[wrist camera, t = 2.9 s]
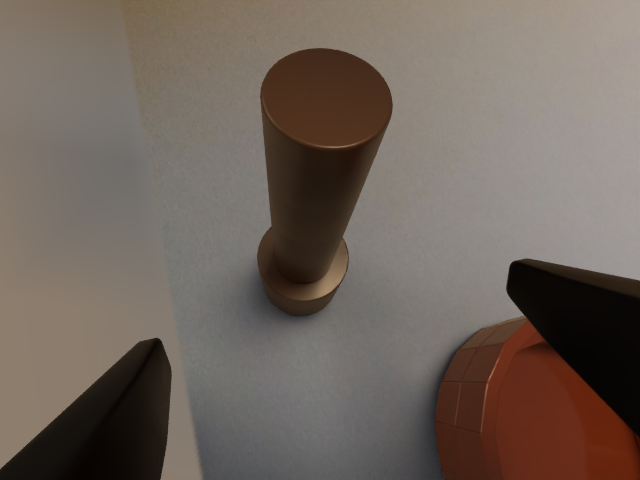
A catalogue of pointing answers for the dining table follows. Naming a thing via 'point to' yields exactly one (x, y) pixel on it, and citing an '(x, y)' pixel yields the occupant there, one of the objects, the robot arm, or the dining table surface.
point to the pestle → (316, 169)
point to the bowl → (526, 415)
